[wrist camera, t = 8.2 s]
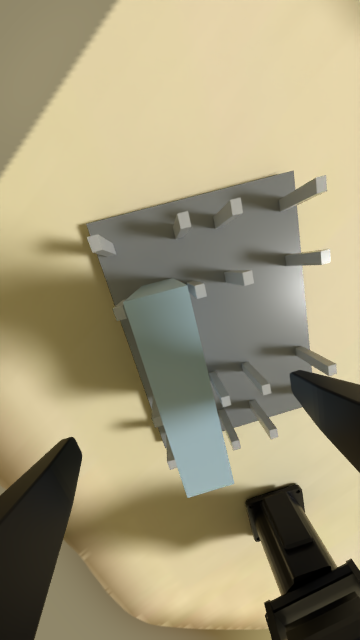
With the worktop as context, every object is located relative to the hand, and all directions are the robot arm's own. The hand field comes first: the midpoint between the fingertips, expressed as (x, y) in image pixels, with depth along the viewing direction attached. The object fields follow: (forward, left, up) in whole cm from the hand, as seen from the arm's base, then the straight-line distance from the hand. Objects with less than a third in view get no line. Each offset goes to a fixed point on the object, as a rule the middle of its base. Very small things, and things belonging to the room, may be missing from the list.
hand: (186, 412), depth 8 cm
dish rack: (0, -4, -9) cm, 10 cm away
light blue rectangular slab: (0, 0, -9) cm, 9 cm away
